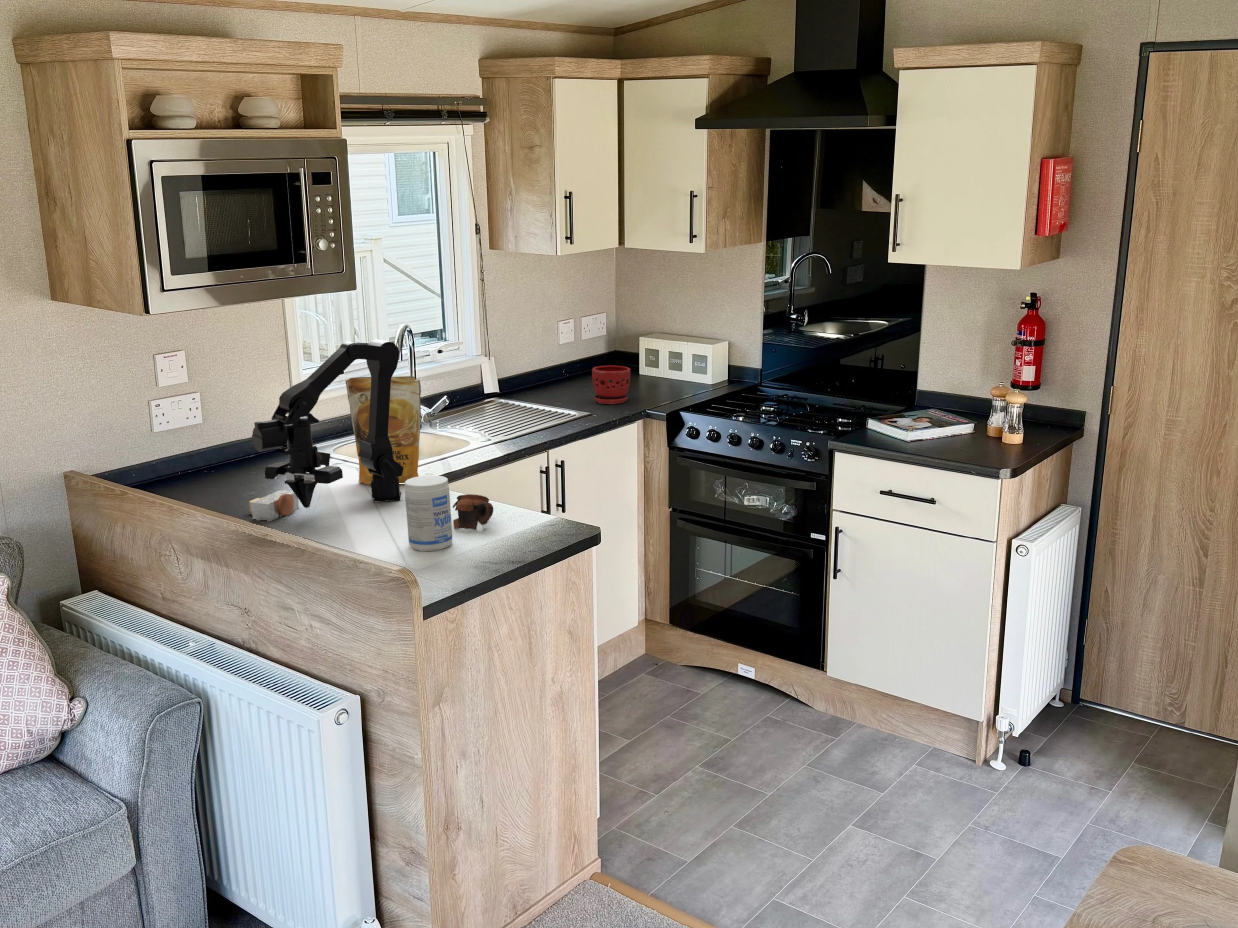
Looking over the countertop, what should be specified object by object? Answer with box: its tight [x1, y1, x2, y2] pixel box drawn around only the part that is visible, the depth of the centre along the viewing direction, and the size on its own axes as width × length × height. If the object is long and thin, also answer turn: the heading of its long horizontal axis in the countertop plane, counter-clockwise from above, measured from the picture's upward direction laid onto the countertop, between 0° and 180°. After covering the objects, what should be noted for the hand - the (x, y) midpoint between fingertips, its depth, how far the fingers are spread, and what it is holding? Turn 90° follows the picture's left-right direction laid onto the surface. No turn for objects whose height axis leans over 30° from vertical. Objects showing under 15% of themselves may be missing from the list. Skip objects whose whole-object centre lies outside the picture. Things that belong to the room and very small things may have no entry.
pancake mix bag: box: [344, 375, 422, 486], centre depth 298 cm, size 7×19×28 cm, turn 86°
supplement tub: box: [404, 474, 453, 552], centre depth 247 cm, size 10×10×15 cm
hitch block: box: [251, 489, 300, 522], centre depth 275 cm, size 5×11×4 cm, turn 159°
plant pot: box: [591, 365, 631, 405], centre depth 392 cm, size 13×13×12 cm
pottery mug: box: [452, 493, 494, 530], centre depth 262 cm, size 12×10×8 cm
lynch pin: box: [248, 494, 294, 517], centre depth 276 cm, size 10×5×5 cm, turn 69°
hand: (307, 507), depth 272 cm, fingers closed
